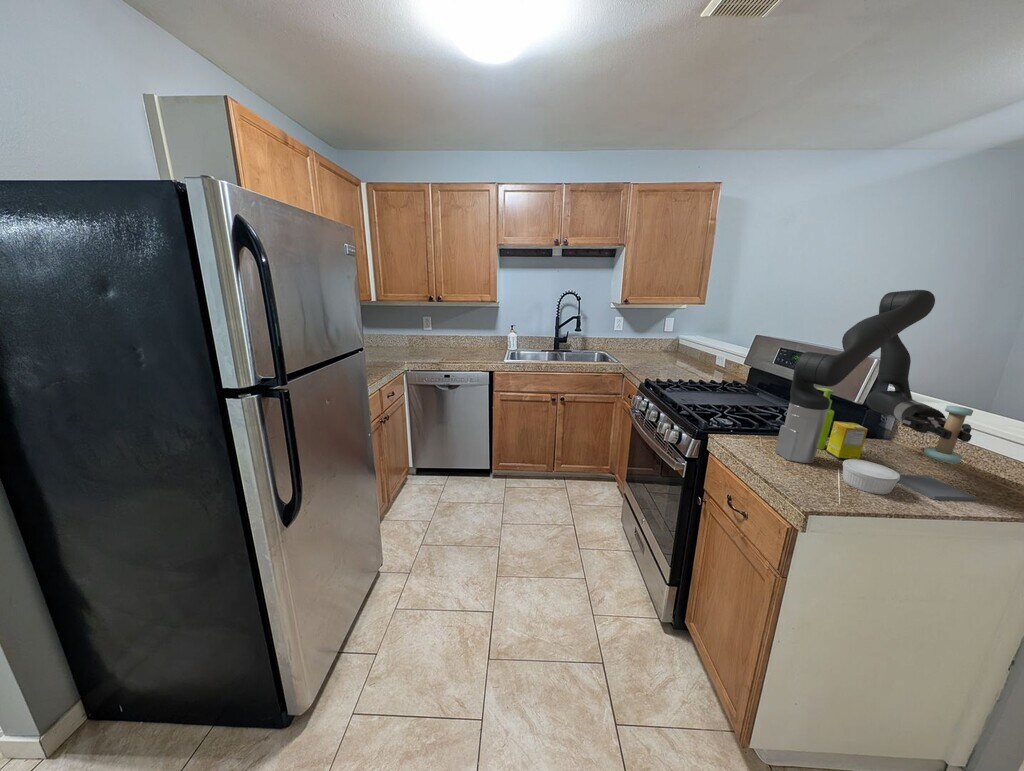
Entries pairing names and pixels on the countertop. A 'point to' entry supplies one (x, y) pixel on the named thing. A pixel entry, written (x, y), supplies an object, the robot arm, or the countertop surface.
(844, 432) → the supplement box
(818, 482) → the countertop surface
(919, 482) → the mat
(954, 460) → the teal-flanged spool
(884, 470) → the ramekin
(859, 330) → the robot arm
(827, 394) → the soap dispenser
